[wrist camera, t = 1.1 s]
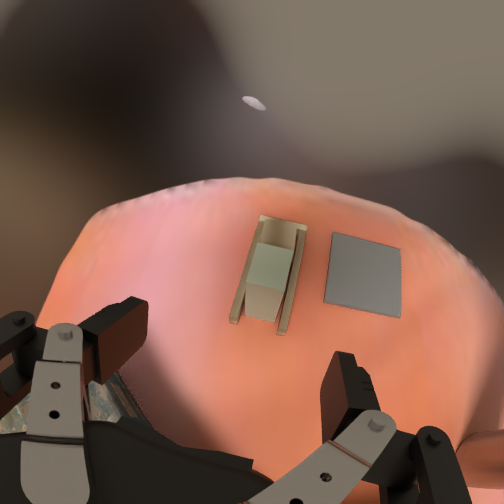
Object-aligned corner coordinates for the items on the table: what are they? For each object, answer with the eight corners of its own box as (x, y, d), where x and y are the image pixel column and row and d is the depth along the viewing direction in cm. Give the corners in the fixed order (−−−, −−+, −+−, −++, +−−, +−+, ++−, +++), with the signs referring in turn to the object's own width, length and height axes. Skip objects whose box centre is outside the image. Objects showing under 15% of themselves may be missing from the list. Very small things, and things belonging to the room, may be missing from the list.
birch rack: (304, 235, 45) (307, 225, 43) (283, 336, 36) (286, 330, 34) (259, 225, 46) (260, 214, 44) (229, 322, 37) (229, 316, 35)
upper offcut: (294, 237, 41) (297, 224, 39) (290, 267, 39) (293, 255, 36) (263, 232, 42) (264, 218, 39) (257, 261, 39) (258, 249, 36)
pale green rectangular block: (282, 289, 40) (293, 250, 31) (274, 322, 37) (284, 291, 29) (254, 282, 40) (257, 242, 32) (244, 315, 38) (245, 281, 29)
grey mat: (398, 251, 44) (400, 249, 43) (398, 318, 38) (400, 316, 37) (332, 234, 45) (333, 232, 45) (323, 302, 39) (324, 300, 38)
